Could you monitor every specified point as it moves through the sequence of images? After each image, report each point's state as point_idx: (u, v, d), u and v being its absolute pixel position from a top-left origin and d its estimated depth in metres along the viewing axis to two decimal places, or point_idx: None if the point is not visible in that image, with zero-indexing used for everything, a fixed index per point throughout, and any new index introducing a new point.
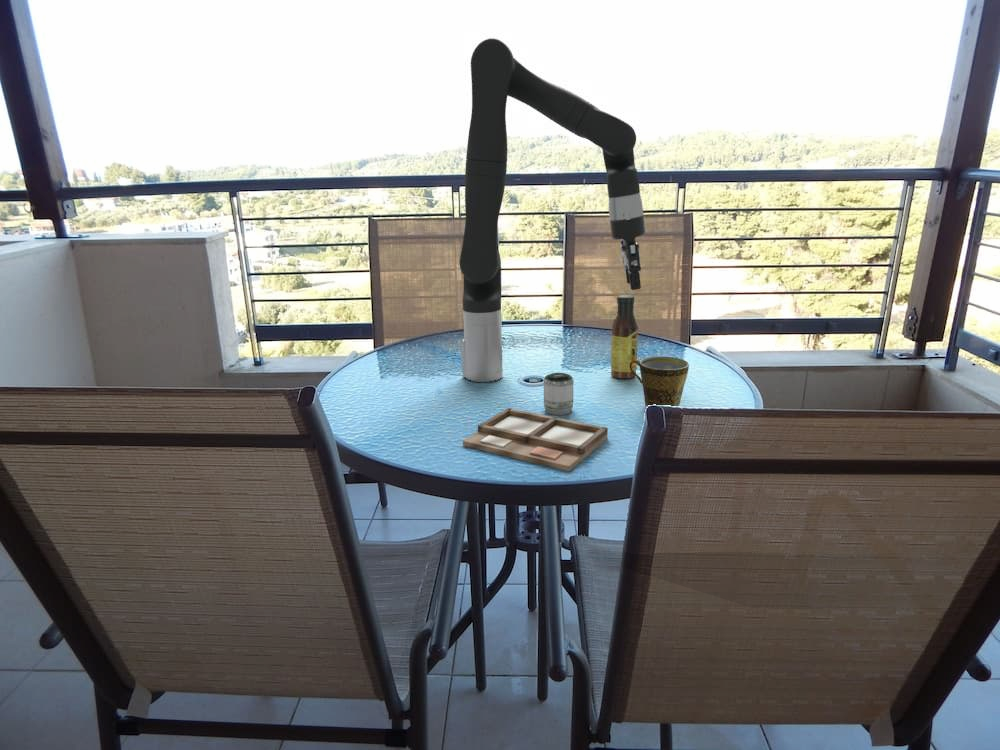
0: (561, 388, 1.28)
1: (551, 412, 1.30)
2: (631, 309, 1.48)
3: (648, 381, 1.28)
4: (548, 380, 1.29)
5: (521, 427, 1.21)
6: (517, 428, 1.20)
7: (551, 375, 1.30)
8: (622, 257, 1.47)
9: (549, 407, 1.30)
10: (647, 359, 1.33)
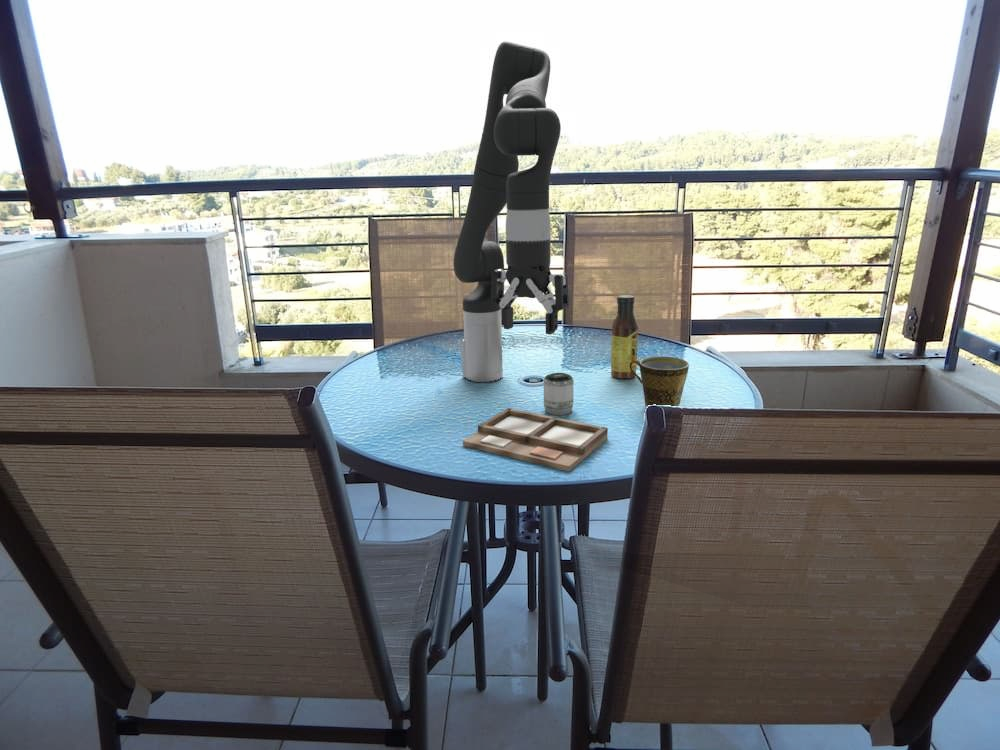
0: (561, 388, 1.28)
1: (551, 412, 1.30)
2: (631, 309, 1.48)
3: (648, 381, 1.28)
4: (548, 380, 1.29)
5: (521, 427, 1.21)
6: (517, 428, 1.20)
7: (551, 375, 1.30)
8: None
9: (549, 407, 1.30)
10: (647, 359, 1.33)
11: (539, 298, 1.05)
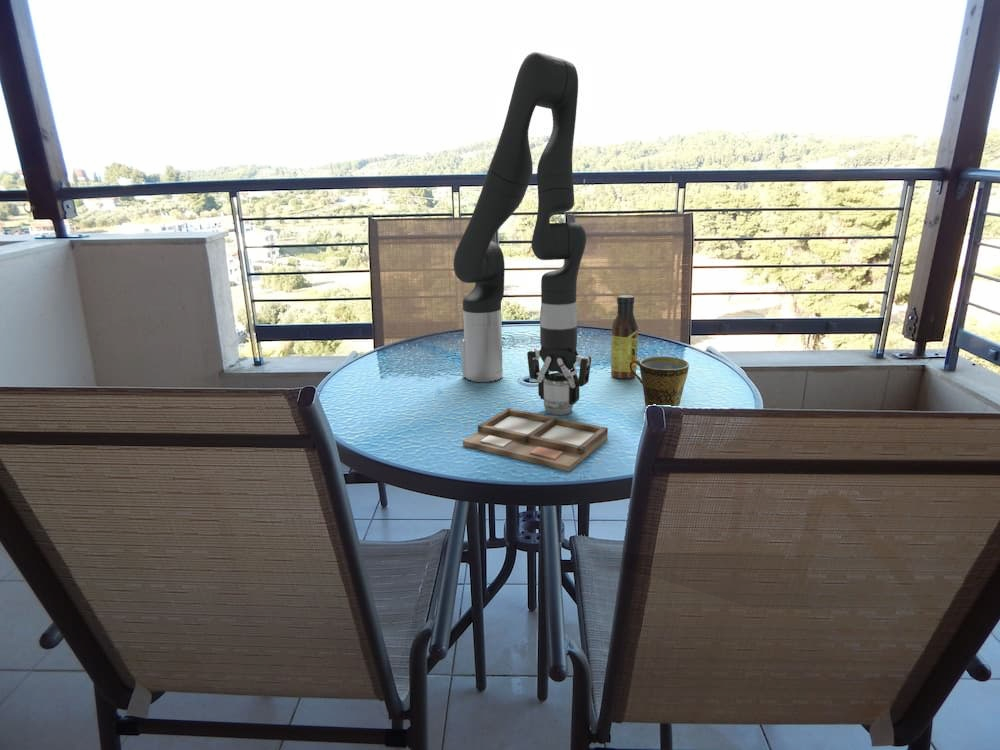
0: (561, 388, 1.28)
1: (551, 412, 1.30)
2: (631, 309, 1.48)
3: (648, 381, 1.28)
4: (548, 380, 1.29)
5: (521, 427, 1.21)
6: (517, 428, 1.20)
7: (551, 375, 1.30)
8: (570, 367, 1.30)
9: (549, 407, 1.30)
10: (647, 359, 1.33)
11: (566, 375, 1.27)
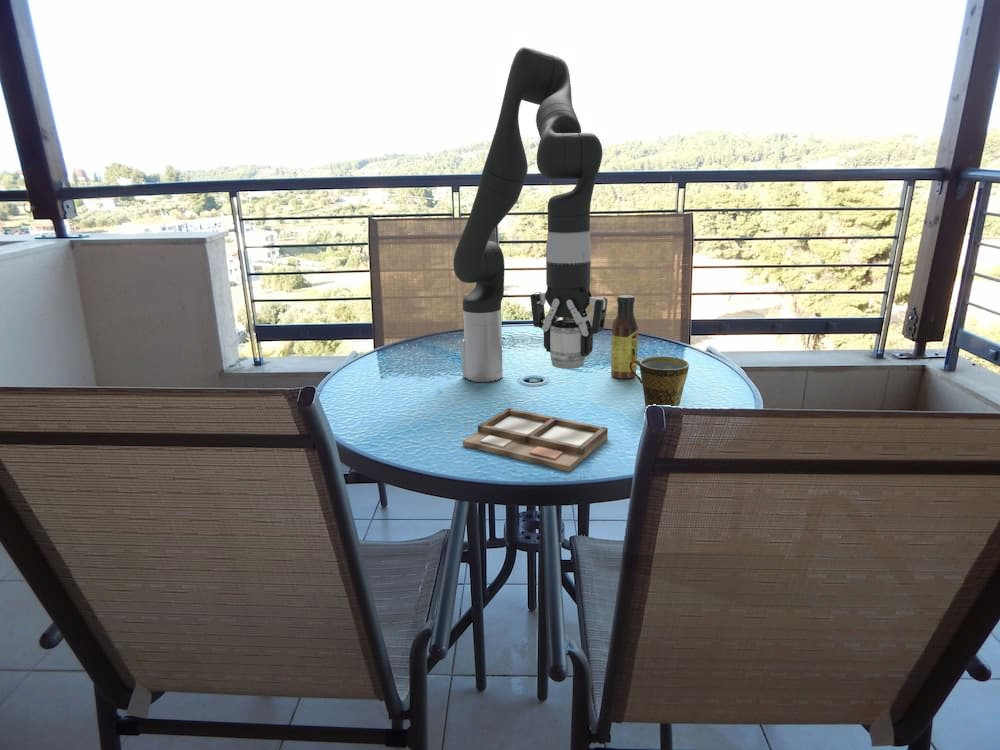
0: (571, 336, 1.07)
1: (559, 366, 1.09)
2: (631, 309, 1.48)
3: (648, 381, 1.28)
4: (556, 327, 1.08)
5: (521, 427, 1.21)
6: (517, 428, 1.20)
7: (559, 322, 1.10)
8: (581, 313, 1.09)
9: (557, 360, 1.09)
10: (647, 359, 1.33)
11: (577, 320, 1.06)
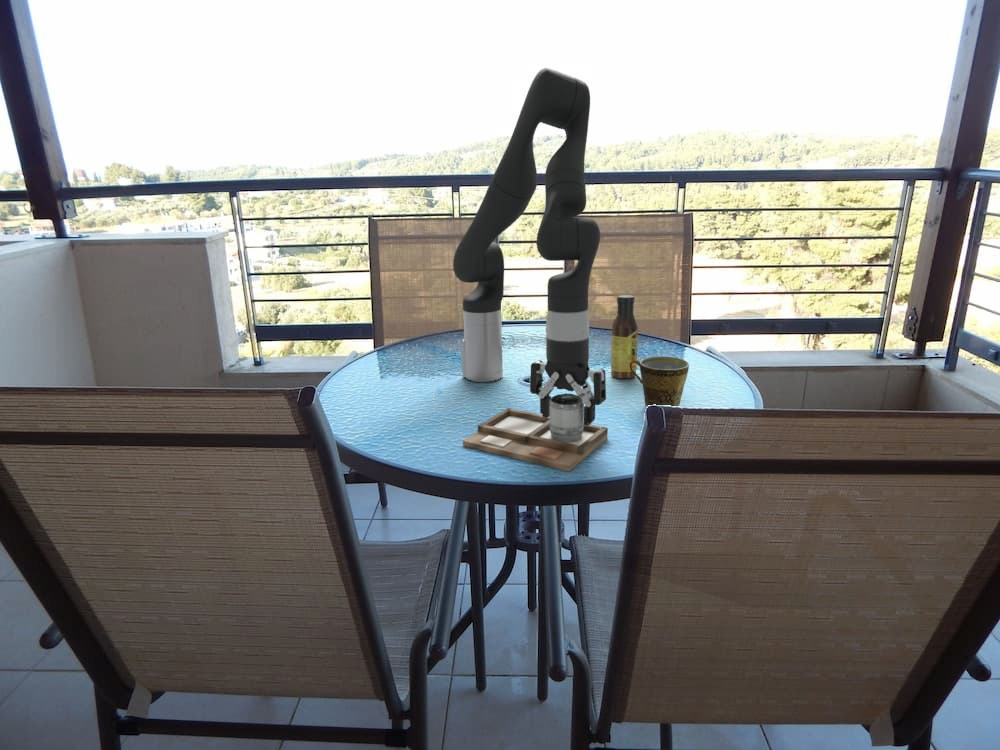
0: (569, 412, 1.11)
1: (558, 439, 1.14)
2: (631, 309, 1.48)
3: (648, 381, 1.28)
4: (555, 403, 1.12)
5: (521, 427, 1.21)
6: (517, 428, 1.20)
7: (558, 397, 1.14)
8: (582, 384, 1.13)
9: (556, 433, 1.13)
10: (648, 359, 1.33)
11: (578, 392, 1.10)
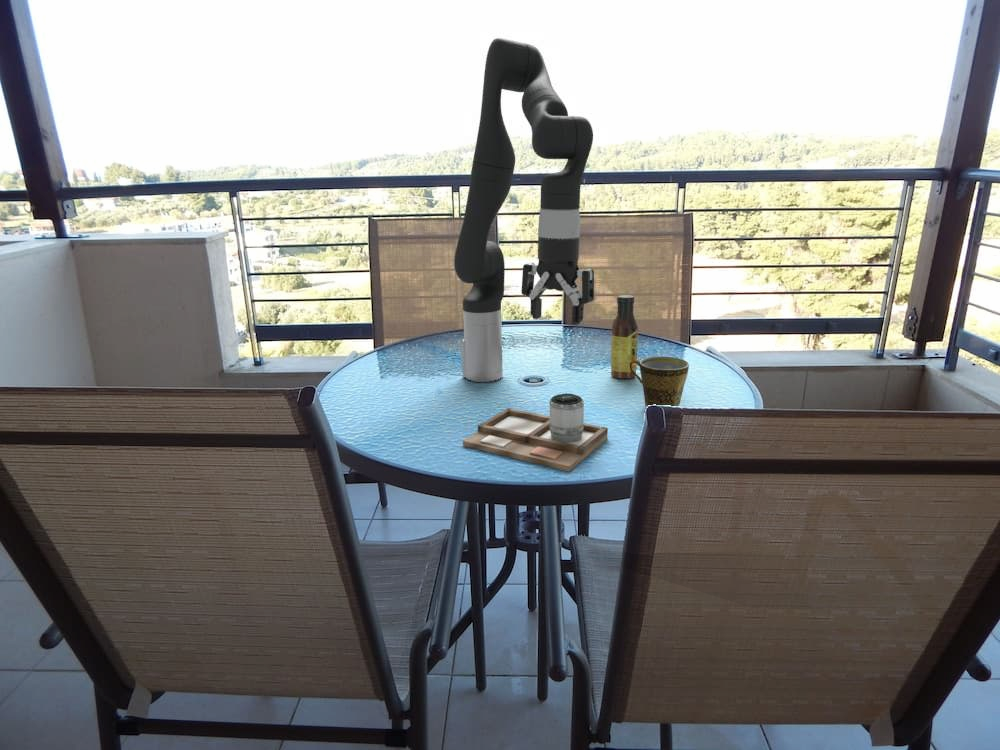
0: (569, 412, 1.11)
1: (558, 439, 1.14)
2: (631, 309, 1.48)
3: (648, 381, 1.28)
4: (555, 403, 1.12)
5: (521, 427, 1.21)
6: (517, 428, 1.20)
7: (558, 397, 1.14)
8: None
9: (556, 433, 1.13)
10: (648, 359, 1.33)
11: (567, 291, 1.14)
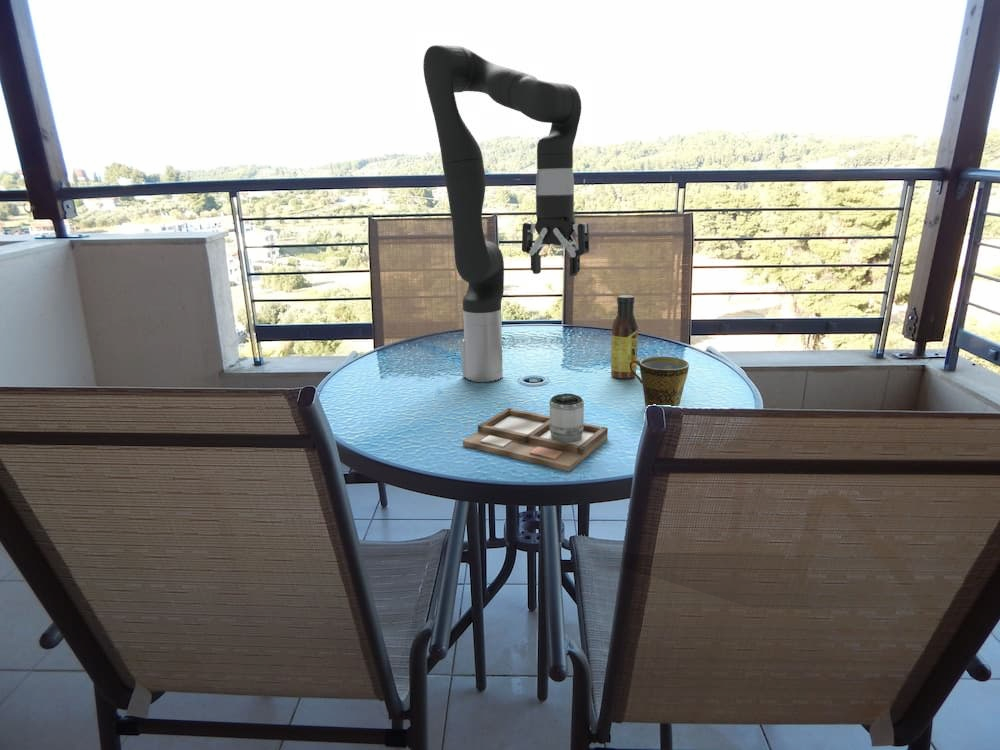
0: (569, 412, 1.11)
1: (558, 439, 1.14)
2: (631, 309, 1.48)
3: (648, 381, 1.28)
4: (555, 403, 1.12)
5: (521, 427, 1.21)
6: (517, 428, 1.20)
7: (558, 397, 1.14)
8: (568, 240, 1.27)
9: (556, 433, 1.13)
10: (647, 359, 1.33)
11: (564, 244, 1.24)
